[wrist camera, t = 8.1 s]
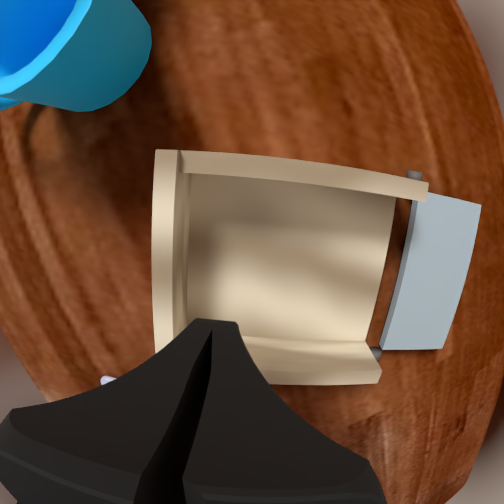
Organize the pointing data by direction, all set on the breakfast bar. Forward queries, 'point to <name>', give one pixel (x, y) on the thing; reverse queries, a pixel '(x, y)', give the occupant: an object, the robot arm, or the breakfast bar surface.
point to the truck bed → (275, 257)
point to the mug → (70, 52)
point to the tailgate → (431, 273)
